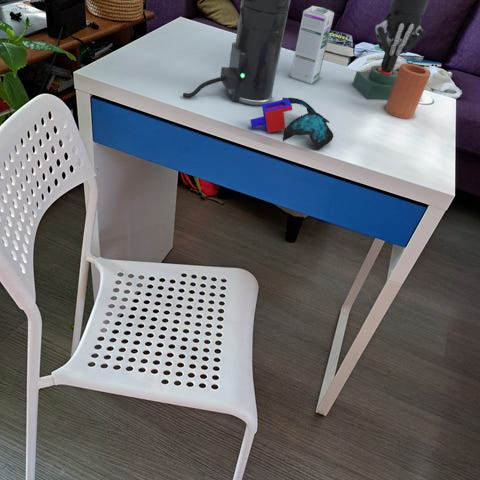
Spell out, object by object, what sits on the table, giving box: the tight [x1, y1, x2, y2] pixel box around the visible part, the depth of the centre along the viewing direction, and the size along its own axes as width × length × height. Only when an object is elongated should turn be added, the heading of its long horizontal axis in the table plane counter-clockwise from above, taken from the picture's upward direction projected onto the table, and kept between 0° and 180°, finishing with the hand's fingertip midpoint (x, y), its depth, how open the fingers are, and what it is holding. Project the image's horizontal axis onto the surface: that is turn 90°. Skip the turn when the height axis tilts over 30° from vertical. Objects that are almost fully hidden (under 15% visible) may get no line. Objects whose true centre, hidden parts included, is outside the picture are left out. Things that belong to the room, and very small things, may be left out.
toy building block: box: [250, 97, 293, 134], centre depth 97 cm, size 4×4×8 cm
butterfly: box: [281, 97, 334, 151], centre depth 98 cm, size 17×5×10 cm
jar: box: [384, 62, 431, 120], centre depth 112 cm, size 7×7×10 cm
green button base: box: [352, 65, 398, 100], centre depth 120 cm, size 10×8×5 cm
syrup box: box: [289, 5, 335, 84], centre depth 116 cm, size 6×6×14 cm
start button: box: [377, 68, 392, 75], centre depth 119 cm, size 4×4×2 cm
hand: (385, 70), depth 118 cm, fingers closed
